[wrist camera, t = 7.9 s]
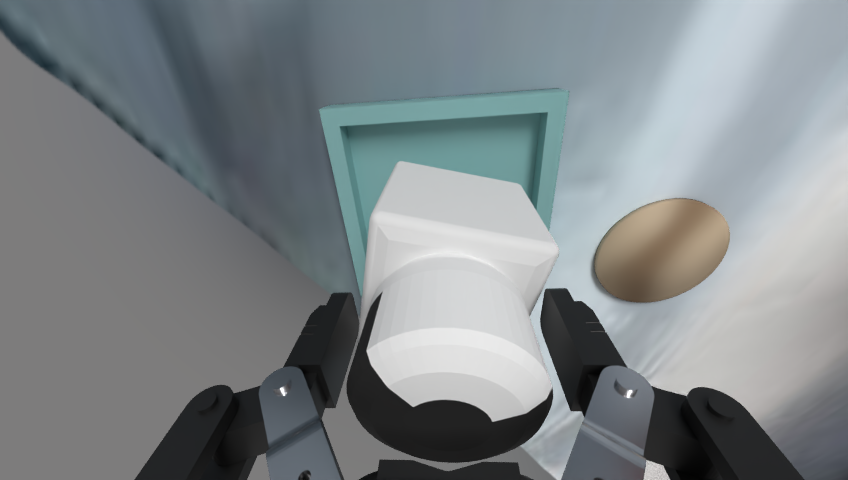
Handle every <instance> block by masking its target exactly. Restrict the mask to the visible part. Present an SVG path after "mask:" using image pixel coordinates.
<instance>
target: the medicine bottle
mask: <svg viewBox="0 0 848 480" xmlns="http://www.w3.org/2000/svg"><path fill="white" fill-rule="evenodd" d="M558 256H559V248H558V246H557V244H556V243H555V241H554V239H553V238H552V236H551V234H550V233H549V231H548V229H547V228H546V226H545V224H544V223H543V221H542V219H541V218H540V216H539V214H538V213H537V211H536V209H535V208H534V206H533V204H532V203H531V201H530V200H529V198H528V196H527V195H526V193H525V191H524V190H523V188H522V186H521V185H520V184H518V183H513V182H508V181H503V180H498V179H492V178H487V177H482V176H477V175H472V174H466V173H461V172H456V171H451V170H446V169H440V168H435V167H430V166H425V165H420V164H415V163H409V162H404V161H399V162H397V163H396V165H395V167H394V169H393V171H392V173H391V175H390V177H389V179H388V181H387V183H386V185H385V187H384V189H383V191H382V193H381V195H380V197H379V199H378V201H377V203H376V206H375V208H374V210H373V212H372V214H371V216H370V220H369V230H368V240H367V251H366V261H365V271H364V282H363V292H362V302H361V312H360V323H359V333H358V346H357V350H356V353H355V356H354V359H353V362H352V365H351V369H350V372H349V375H348V380H347V396H348V400H349V403H350V405H351V407H352V409H353V411H354V413H355V415H356V417H357V419H358V421H359V422H360V423H361V425H362V426H363V427H364V428H365V429H366V430H367V431H368V432H369V433H370V434H371V435H373V436H374V437H375V438H376V439H378V440H379V441H381V442H382V443H384V444H386V445H388V446H390V447H392V448H394V449H396V450H399V451H401V452H404V453H406V454H409V455H411V456H414V457H418V458H421V459H426V460H431V461H437V462H449V463H450V462H451V463H452V462H453V463H454V462H455V463H456V462H457V463H458V462H470V461H477V460H482V459H486V458H490V457H493V456H497V455H500V454H502V453H505V452H508V451H510V450H512V449H515V448H516V447H518V446H520V445H522V444H523V443H525V442H526V441H528V440H529V439H530V438H531V437H533V435H534V434H535V433H536V432H537V431H538V430H539V429H540V427H541V426H542V424H543V422H544V421H545V419H546V417H547V415H548V413H549V410H550V408H551V405H552V400H553V389H552V384H551V381H550V378H549V375H548V372H547V369H546V366H545V363H544V359H543V356H542V353H541V350H540V347H539V344H538V341H537V338H536V335H535V332H534V329H533V326H532V323H531V320H530V315H531V312H532V310H533V308H534V306H535V304H536V302H537V300H538V298H539V296H540V294H541V292H542V289H543V287H544V285H545V283H546V281H547V279H548V277H549V275H550V273H551V271H552V268H553V266H554V264H555V262H556V260H557V258H558Z"/></svg>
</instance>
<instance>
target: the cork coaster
mask: <svg viewBox="0 0 848 480" xmlns="http://www.w3.org/2000/svg"><path fill="white" fill-rule="evenodd" d="M729 240H730V232H729V227H728V224H727V222H726V220H725V218H724V217H723V216H722V215H721V214H720V213H719V212H718V211H717V210H716V209H714V208H713V207H711V206H709V205H707V204H705V203H703V202H700V201H697V200H693V199H686V198H674V199H665V200H661V201H656V202H653V203H650V204H647V205H645V206H642V207H640V208H638V209H636V210H634V211H632V212H631V213H629V214H628V215H626V216H625V217H623V218H622V219H621V220H619V221H618V222H617V223H616V224H615V225H614V226H613V227H612V228H611V229H610V230H609V231H608V232H607V233H606V235H605V236H604V238H603V239H602V241H601V242H600V244H599V246H598V249H597V252H596V255H595V261H594V267H595V273H596V275H597V278H598V280H599V281H600V283H601V284H602V286H603V287H604V288H605V289H606V290H607V291H608V292H609V293H610V294H612V295H614V296H615V297H617V298H620V299H622V300H626V301H631V302H655V301H661V300H665V299H669V298H672V297H675V296H677V295H680V294H682V293H684V292H686V291H688V290H690V289H692V288H693V287H695V286H696V285H698V284H699V283H701V282H702V281H703V280H705V279H706V278H707V277H708V276H709V275H710V274H711V273H712V272H713V271H714V270H715V269H716V268H717V267H718V265H719V264H720V262H721V261H722V259H723V258H724V256H725V254H726V251H727V249H728V245H729Z"/></svg>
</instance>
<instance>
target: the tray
mask: <svg viewBox="0 0 848 480" xmlns="http://www.w3.org/2000/svg"><path fill="white" fill-rule="evenodd" d="M568 98H569V91H567V90H563V89H559V88H554V89H541V90H527V91H514V92H500V93H486V94H473V95H459V96H446V97H432V98H419V99H405V100H392V101H378V102H365V103H351V104H338V105H329V106H326V107H324V108H321V109H319V112H320V116H321V121H322V125H323V129H324V134H325V138H326V143H327V147H328V152H329V156H330V161H331V165H332V170H333V174H334V179H335V183H336V188H337V192H338V197H339V201H340V206H341V210H342V214H343V219H344V223H345V228H346V232H347V237H348V241H349V246H350V250H351V255H352V259H353V264H354V268H355V273H356V277H357V282H358V286H359V291H360V295H361V297H362V292H363V282H364V271H365V261H366V251H367V240H368V230H369V220H370V216H371V214H372V212H373V210H374V208H375V206H376V203H377V201H378V199H379V197H380V195H381V193H382V191H383V189H384V187H385V185H386V183H387V181H388V179H389V177H390V175H391V173H392V171H393V169H394V167H395V165H396V163H397V162H399V161H404V162H409V163H415V164H420V165H425V166H430V167H435V168H440V169H446V170H451V171H456V172H461V173H466V174H472V175H477V176H482V177H487V178H492V179H498V180H503V181H508V182H513V183H518V184H520V185H521V186H522V188H523V190H524V191H525V193H526V195H527V196H528V198H529V200H530V201H531V203H532V204H533V206H534V208H535V209H536V211H537V213H538V214H539V216H540V218H541V219H542V221H543V223H544V224H545V226H546V228H547V229H548V231H549V228H550V221H551V214H552V208H553V201H554V194H555V187H556V180H557V173H558V166H559V159H560V153H561V146H562V139H563V132H564V125H565V118H566V111H567V105H568Z"/></svg>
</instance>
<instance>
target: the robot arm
mask: <svg viewBox="0 0 848 480" xmlns="http://www.w3.org/2000/svg"><path fill="white" fill-rule="evenodd" d="M540 323H541V330H542V334H543V337H544V339H545V342H546V345H547V347H548V350H549V353H550V356H551V358H552V361H553V364H554V367H555V369H556V372H557V375H558V378H559V380H560V383H561V386H562V389H563V391H564V394H565V397H566V399H567V402H568V405H569V408H570V410H571V411H582V413H583V415H584V420H583V422H582V424H581V427H580V430H579V432H578V435H577V438H576V441H575V443H574V446H573V449H572V451H571V454H570V457H569V460H568V462H567V465H566V468H565V471H564V473H563V476H562V479H561V480H643V479H644V473H645V467H646V460H649V461H652V462H655V463H658V464H661V465H663V466H664V468H665V470H666V472H667V474H668V476H669V478H670V480H804V479H803V477H802V476H801V475H800V474H799V473H798V471H797V470H796V469H795V468H794V466H793V465H792V464H791V463H790V462H789V460H788V459H787V458H786V457H785V456H784V454H783V453H782V452H781V451H780V450H779V448H778V447H777V446H776V445H775V443H774V442H773V441H772V440H771V439H770V437H769V436H768V435H767V434H766V433H765V431H764V430H763V429H762V428H761V427H760V425H759V424H758V423H757V422H756V420H755V419H754V418H753V417H752V416H751V414H750V413H749V412H748V411H747V410H746V409H745V408H744V407H743V406H742V405H741V404H740V403H739V402H737V401H736V400H735V399H733V398H732V397H730V396H728V395H726V394H724V393H722V392H720V391H717V390H714V389H711V388H705V387H698V388H694V389H692V390H691V391H690V392H689V393H688V395H687V396H684V395H680V394H676V393H673V392H669V391H665V390H661V389H658V388H655V387H653V386H651V385H650V384H649V382H648V381H647V380H646V379H645V378H644V377H643V376H641V375H640V374H639V373H637V372H636V371H634V370H632V369H629V368H627V366H626V364H625V363H624V361H623V360H622V358H621V356H620V355H619V353H618V351H617V350H616V348H615V346H614V345H613V343H612V341H611V340H610V338H609V336H608V335H607V333H605V330H604V328H603V326H602V325H601V324H600V322H599V320H598V318H597V316H596V315H595V313H594V311H593V310H592V309H591V308H589V307H588V306H587V305H586V304H585V303H583V302H582V301H574V300H573V298H572V297H571V295H570V293H569V291H568V290H567V289H566V288H558V289H546V290H545V292H544V298H543V305H542V311H541V318H540ZM358 332H359V319H358V315H357V311H356V306H355V302H354V298H353V295H352V293H333V294H332V295H331V297H330V299H329V301H328V303H327V305H326V306H325V305H323V306H322V305H321V306H319V307H318V308H317V309H316V310H315V311H314V312H313V313H312V314H311V315H310V317H309V319H308V321H307V323H306V325H305V327H304V328H303V330H302V332H301V335H300V336H299V338H298V340H297V342H296V344H295V346H294V348H293V350H292V352H291V353H290V355H289V357H288V359H287V361H286V363H285V365H284V367H283V368H281V369H278V370H276V371H274V372H273V373H272V374H270V375H269V376H268V377H267V378H266V379H265V380H264V381H263V383H262V385H261V386H258V387H255V388H252V389H248V390H245V391H241V392H238V393H233V391H232V390H231V388H230V387H228V386H226V385H217V386H213V387H210V388H208V389H205V390H204V391H202V392H201V393H199V394H198V395H196V396H195V397H194V398H193V399H192V400H191V401H190V402H189V403H188V404H187V406H186V407H185V409H184V410H183V411H182V413H181V414H180V416H179V417H178V419H177V420H176V421H175V423H174V424H173V426H172V427H171V428H170V430H169V431H168V433H167V434H166V436H165V437H164V438H163V440H162V441H161V443H160V444H159V446H158V447H157V448H156V450H155V451H154V453H153V454H152V456H151V457H150V458H149V460H148V461H147V463H146V464H145V466H144V467H143V468H142V470H141V472H140V473H139V474H138V476H137V477H136V479H135V480H247V478H248V476H249V474H250V471H251V469H252V467H253V465H254V462H255V460H256V458H257V456H258V455H261V454H264V453H266V460H267V465H268V471H269V476H270V480H344V478H343V475H342V473H341V470H340V467H339V465H338V462H337V459H336V457H335V454H334V451H333V449H332V446H331V443H330V440H329V438H328V435H327V432H326V430H325V427H324V424H323V422H322V416H323V412H324V410H325V408H335V407H336V404H337V401H338V397H339V394H340V391H341V388H342V385H343V381H344V378H345V375H346V372H347V368H348V365H349V362H350V359H351V355H352V352H353V349H354V346H355V342H356V339H357V336H358ZM359 480H533V479H531V478H529V477H527V476H524V475H521V474H520V471H519V466H518V463H509V462H481V463H477V464H474V465H470V466H467V467H464V468H460V469H456V470H453V471H443V470H440V469H437V468H434V467H431V466H428V465H425V464H422V463H419V462H416V461H413V460H380V461H379V467H378V471H376V472H373V473H371V474H368V475H366V476H364V477H363V478H361V479H359Z"/></svg>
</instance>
